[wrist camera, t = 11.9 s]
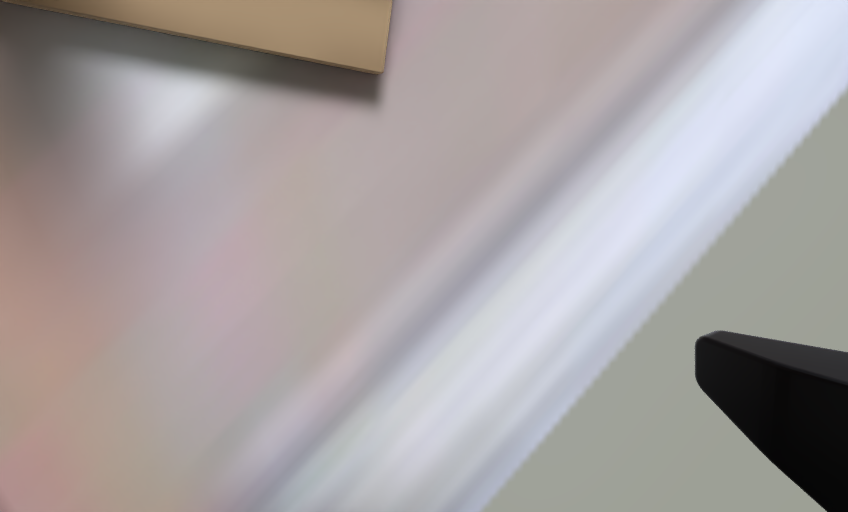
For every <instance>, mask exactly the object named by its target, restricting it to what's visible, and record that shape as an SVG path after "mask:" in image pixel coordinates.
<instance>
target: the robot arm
mask: <svg viewBox="0 0 848 512" xmlns="http://www.w3.org/2000/svg"><path fill="white" fill-rule="evenodd" d="M695 377H696V380H697V383H698V384H699V386H700V388H701V389H702V390H703V391H704V392H705V393H706V394H707V396H708V397H709V398H710V399H711V400H712V401H713V402H714V403H715V404H716V405H717V406H718V407H719V408H720V409H721V410H722V411H723V412H724V413H725V414H726V415H727V416H728V418H729V419H730V420H731V421H732V422H733V423H734V424H735V425H736V426H737V427H738V428H739V429H740V430H741V431H742V432H743V433H744V434H745V435H746V436H747V437H748V438H749V440H750V441H751V442H752V443H753V444H754V445H755V446H756V447H757V448H758V449H759V450H760V451H761V452H762V453H763V454H764V455H765V456H766V457H767V458H768V459H769V460H770V461H771V462H772V463H773V464H775V465H776V466H777V467H778V468H779V469H780V470H781V471H782V472H783V473H784V474H785V475H786V476H788V477H789V478H790V479H791V480H792V481H793V482H794V483H795V484H797V485H798V486H799V487H800V488H801V489H802V490H803V491H804V492H806V493H807V494H808V495H809V496H810V497H811V498H813V499H814V500H815V501H816V502H817V503H818V504H819V505H820V506H821V507H823V508H824V509H825V510H826V511H827V512H848V352H843V351H837V350H831V349H825V348H820V347H813V346H808V345H802V344H797V343H790V342H784V341H779V340H773V339H768V338H762V337H756V336H750V335H744V334H738V333H733V332H727V331H714V332H711V333H709V334H706V335H704V336H701V337H699V338H698V339H697V341H696V343H695Z"/></svg>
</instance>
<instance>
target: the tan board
mask: <svg viewBox="0 0 848 512" xmlns="http://www.w3.org/2000/svg"><path fill="white" fill-rule="evenodd" d="M0 1H3V2H8V3H13V4H18V5H23V6H29V7H34V8H39V9H44V10H49V11H54V12H59V13H64V14H69V15H75V16H80V17H85V18H90V19H95V20H100V21H105V22H110V23H116V24H121V25H126V26H131V27H136V28H141V29H146V30H151V31H156V32H162V33H167V34H172V35H177V36H182V37H187V38H192V39H197V40H203V41H208V42H213V43H218V44H223V45H228V46H233V47H238V48H243V49H249V50H254V51H259V52H264V53H269V54H274V55H279V56H284V57H290V58H295V59H300V60H305V61H310V62H315V63H320V64H325V65H330V66H336V67H341V68H346V69H351V70H356V71H361V72H366V73H371V74H377V75H378V74H381V73H383V71H384V63H385V55H386V47H387V39H388V32H389V24H390V16H391V8H392V0H0Z"/></svg>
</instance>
